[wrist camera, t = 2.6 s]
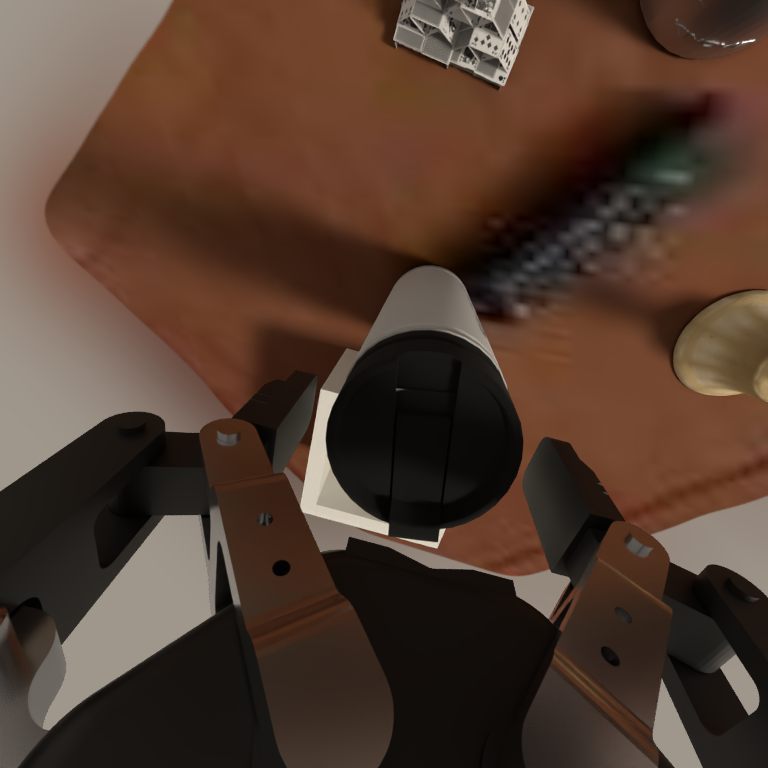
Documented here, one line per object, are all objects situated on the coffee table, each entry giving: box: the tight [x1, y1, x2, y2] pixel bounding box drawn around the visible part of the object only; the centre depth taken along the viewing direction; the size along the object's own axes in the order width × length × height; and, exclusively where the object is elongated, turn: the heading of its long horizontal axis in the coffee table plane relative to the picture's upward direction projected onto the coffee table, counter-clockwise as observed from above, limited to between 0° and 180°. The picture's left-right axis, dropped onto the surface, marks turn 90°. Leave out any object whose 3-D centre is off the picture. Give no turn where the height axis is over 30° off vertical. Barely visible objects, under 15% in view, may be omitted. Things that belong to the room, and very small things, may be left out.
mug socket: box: [300, 348, 446, 548], centre depth 30 cm, size 11×12×8 cm
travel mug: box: [325, 265, 523, 542], centre depth 20 cm, size 6×7×20 cm
